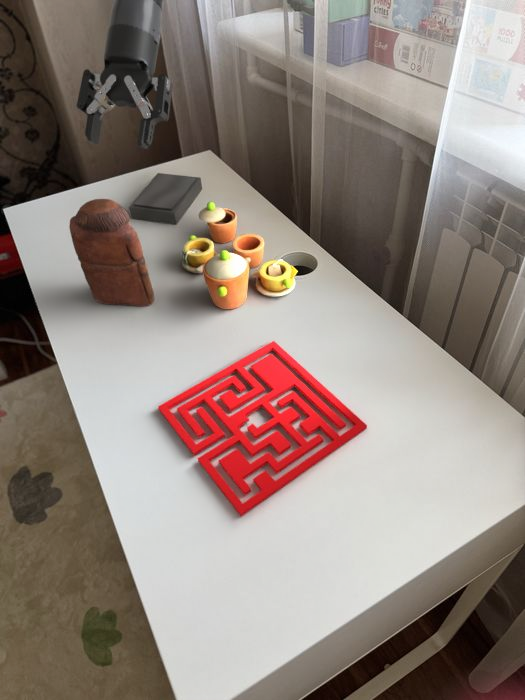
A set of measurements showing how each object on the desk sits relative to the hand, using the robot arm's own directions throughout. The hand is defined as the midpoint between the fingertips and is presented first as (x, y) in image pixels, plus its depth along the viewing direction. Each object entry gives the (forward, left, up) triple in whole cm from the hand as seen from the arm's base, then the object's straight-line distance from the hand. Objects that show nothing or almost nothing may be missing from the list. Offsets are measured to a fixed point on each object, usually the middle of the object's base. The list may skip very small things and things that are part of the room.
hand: (117, 144), depth 81 cm
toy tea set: (+15, +2, -23) cm, 27 cm away
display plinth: (-5, +20, -22) cm, 31 cm away
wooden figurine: (0, -9, -23) cm, 24 cm away
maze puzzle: (+30, -28, -22) cm, 47 cm away
